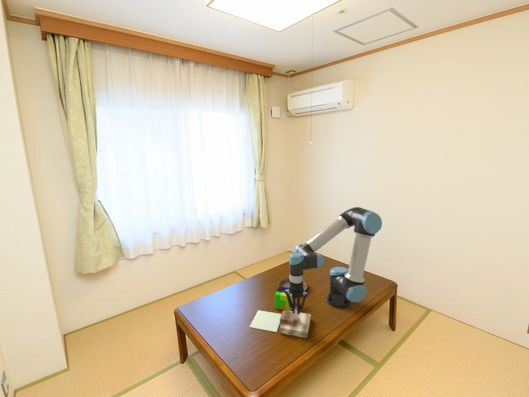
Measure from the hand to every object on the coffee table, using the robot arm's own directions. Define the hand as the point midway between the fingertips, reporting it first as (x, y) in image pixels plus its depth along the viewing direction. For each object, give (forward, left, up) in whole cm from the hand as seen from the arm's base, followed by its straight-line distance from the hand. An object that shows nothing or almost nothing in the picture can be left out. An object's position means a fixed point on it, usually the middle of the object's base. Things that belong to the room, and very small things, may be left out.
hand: (296, 318), depth 151 cm
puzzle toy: (+11, -18, -5) cm, 22 cm away
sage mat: (+18, 0, -5) cm, 19 cm away
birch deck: (0, 0, -5) cm, 5 cm away
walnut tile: (+5, 0, -2) cm, 5 cm away
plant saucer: (+10, -39, -6) cm, 41 cm away
